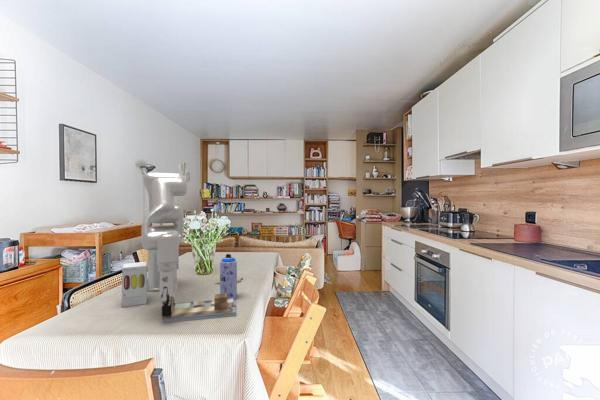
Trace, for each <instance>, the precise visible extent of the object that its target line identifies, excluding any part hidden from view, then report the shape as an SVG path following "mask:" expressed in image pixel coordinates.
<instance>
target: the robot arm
mask: <svg viewBox="0 0 600 400" xmlns="http://www.w3.org/2000/svg"><path fill="white" fill-rule="evenodd" d="M142 179H143V184H144V186H145V189H146V191H147V192H146V193H147V195H148V205H149V206H148V214H146V216H145V217H144V219H143V221H142V223H141V230H140V231H141V246H142V248H143V250H145V251H147V292H156V291H159V298H160V299H161V316H162V317H163V316H171V305H170V304H171V297H174V298H175V296H176V295H177V293H178V290H179V289H178V288H179V285H178V270H179V268H180V264H179V262H180V261H179V260H180V259H179V257H180V256H179V255H180V254H179V253H180V252H179V250H180V249H179V248H180V247H179V246H180V245H181V243H182V241H183V239H184V222H185V221H184V218H185V217H184V208H183V207H182V205H179V204H175V200H174V199H175V197H183V196H186V195H187V193H188V185H187V180H186V178H185V176H184V175H183V174H182V173H181V172H180V173H179V172H164V171H162V172H161V171H150V172H146V173H144V175H143V177H142ZM151 224H158V225H152V226H151ZM159 224H161V225H159ZM163 224H166V225H163ZM167 295H169V297H167ZM168 298H169V301H168V300H167V299H168Z"/></svg>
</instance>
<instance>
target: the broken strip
mask: <svg viewBox="0 0 600 400" xmlns="http://www.w3.org/2000/svg"><path fill="white" fill-rule="evenodd" d="M211 300H212V301H211V306H214V299H211ZM196 301H197V302H195V301H193V302H194V308H198V307H204V301H205V300H196ZM229 303H231V305H233V299H227V305H229Z"/></svg>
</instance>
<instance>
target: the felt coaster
mask: <svg viewBox="0 0 600 400" xmlns="http://www.w3.org/2000/svg"><path fill="white" fill-rule="evenodd" d="M178 303H179V304H175V306H174V309H186V308H190V305H191V303H182V302H178Z"/></svg>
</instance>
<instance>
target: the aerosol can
mask: <svg viewBox="0 0 600 400" xmlns="http://www.w3.org/2000/svg"><path fill="white" fill-rule="evenodd" d="M237 268H238V261H237V259H236V258H235V257H233V256H232V254H231V253H226V254H225V257H224V258H222V259H221V260H219V283H220V284H219V294H224V293H227V299H233V298H235V300H236V299H237V298H238V290H237V289H238V287H237V286H238V283H237V281H238V269H237Z"/></svg>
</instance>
